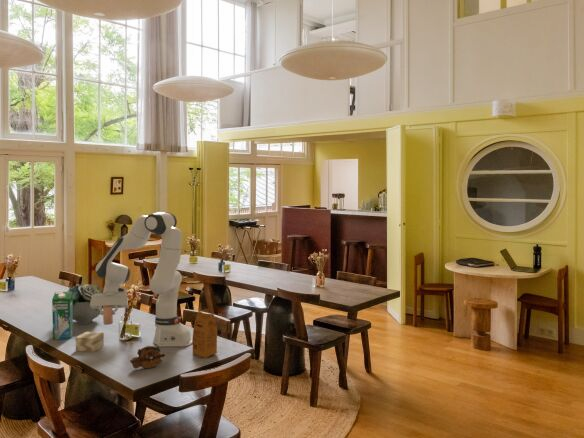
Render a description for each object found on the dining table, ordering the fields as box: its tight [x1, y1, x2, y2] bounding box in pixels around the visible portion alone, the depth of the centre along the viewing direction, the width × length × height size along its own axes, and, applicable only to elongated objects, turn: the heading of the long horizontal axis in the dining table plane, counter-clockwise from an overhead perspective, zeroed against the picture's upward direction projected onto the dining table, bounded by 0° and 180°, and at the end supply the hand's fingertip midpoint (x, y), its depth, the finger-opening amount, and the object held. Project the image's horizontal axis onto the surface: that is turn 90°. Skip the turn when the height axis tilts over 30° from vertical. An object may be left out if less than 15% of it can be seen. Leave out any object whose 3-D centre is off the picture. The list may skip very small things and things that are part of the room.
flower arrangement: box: [66, 283, 103, 325], centre depth 311 cm, size 25×25×24 cm
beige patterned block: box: [75, 331, 105, 353], centre depth 264 cm, size 10×10×7 cm
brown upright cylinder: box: [102, 306, 114, 325], centre depth 274 cm, size 5×5×9 cm
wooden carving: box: [129, 345, 166, 369], centre depth 238 cm, size 16×5×10 cm, turn 126°
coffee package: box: [191, 310, 218, 359], centre depth 257 cm, size 10×12×22 cm
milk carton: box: [51, 291, 74, 340], centre depth 282 cm, size 9×9×25 cm
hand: (107, 314), depth 273 cm, fingers closed on brown upright cylinder, 5 cm apart
